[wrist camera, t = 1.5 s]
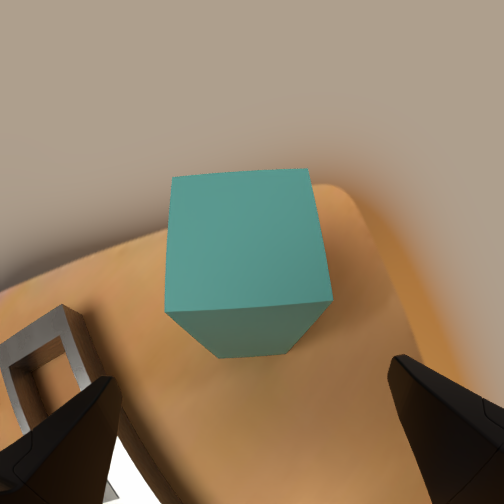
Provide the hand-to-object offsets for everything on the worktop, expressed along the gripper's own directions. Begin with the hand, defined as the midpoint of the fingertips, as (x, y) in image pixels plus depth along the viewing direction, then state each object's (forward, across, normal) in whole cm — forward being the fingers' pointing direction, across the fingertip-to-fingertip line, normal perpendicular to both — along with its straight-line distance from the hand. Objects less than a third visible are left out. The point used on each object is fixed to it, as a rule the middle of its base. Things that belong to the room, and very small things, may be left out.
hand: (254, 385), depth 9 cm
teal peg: (+11, 0, +5) cm, 12 cm away
